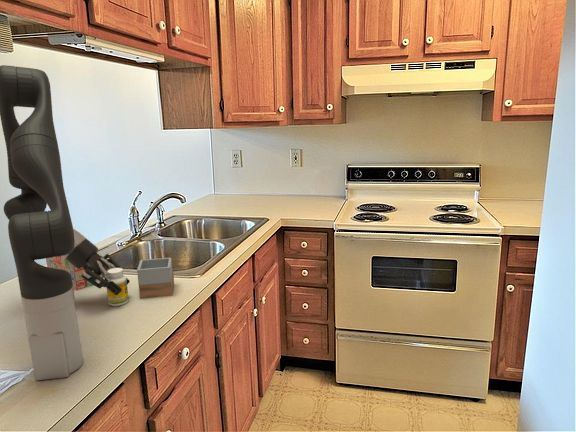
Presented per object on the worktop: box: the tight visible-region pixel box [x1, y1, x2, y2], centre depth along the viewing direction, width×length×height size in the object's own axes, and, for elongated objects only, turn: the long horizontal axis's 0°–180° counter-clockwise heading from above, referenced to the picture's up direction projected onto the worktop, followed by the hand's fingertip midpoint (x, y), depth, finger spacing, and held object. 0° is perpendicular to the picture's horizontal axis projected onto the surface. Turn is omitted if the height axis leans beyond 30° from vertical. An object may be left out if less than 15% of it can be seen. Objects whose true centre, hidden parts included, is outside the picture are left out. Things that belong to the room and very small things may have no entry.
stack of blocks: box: [45, 256, 97, 291], centre depth 138 cm, size 21×6×12 cm, turn 50°
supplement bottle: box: [106, 267, 130, 307], centre depth 121 cm, size 5×5×10 cm
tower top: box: [136, 257, 173, 286], centre depth 127 cm, size 9×9×4 cm
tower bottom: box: [138, 270, 175, 300], centre depth 129 cm, size 9×9×4 cm
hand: (123, 288), depth 121 cm, fingers closed on supplement bottle, 5 cm apart
